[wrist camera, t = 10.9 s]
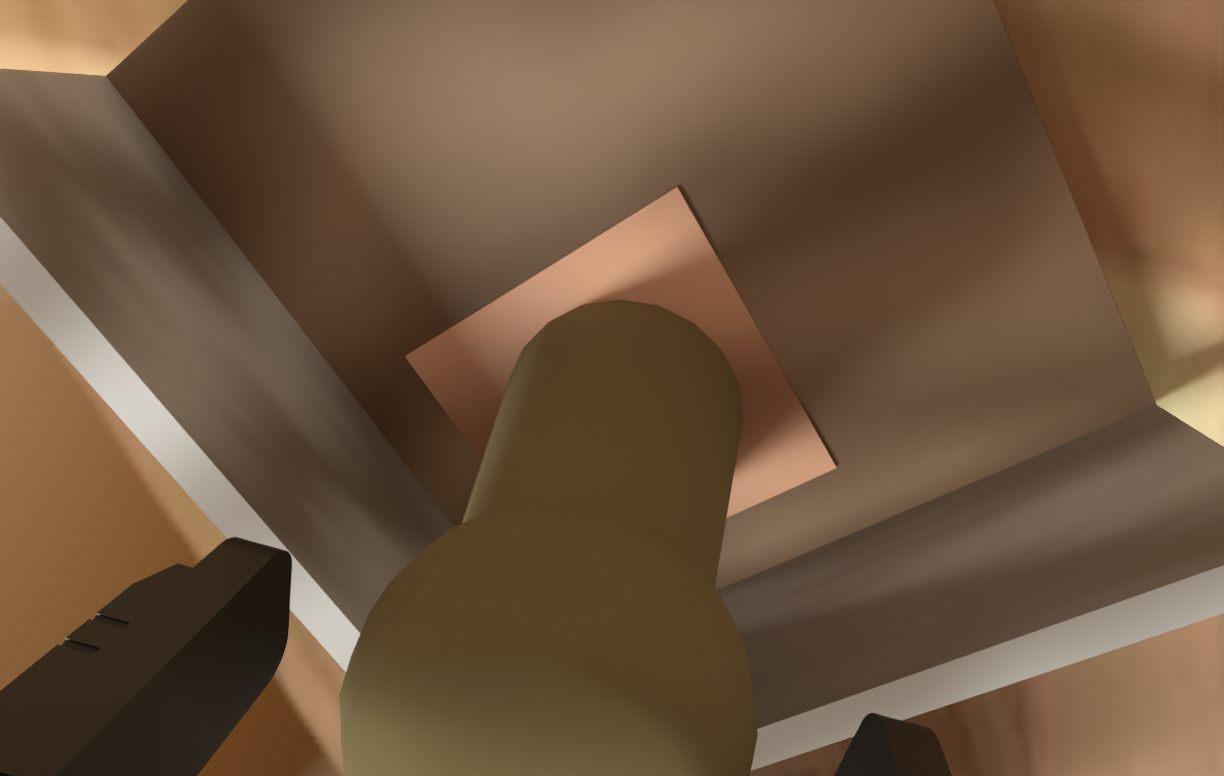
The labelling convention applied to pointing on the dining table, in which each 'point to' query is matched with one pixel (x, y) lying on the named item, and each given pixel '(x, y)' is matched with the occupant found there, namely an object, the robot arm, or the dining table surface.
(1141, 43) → the dining table surface
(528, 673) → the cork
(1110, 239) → the dining table surface
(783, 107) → the board
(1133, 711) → the dining table surface
